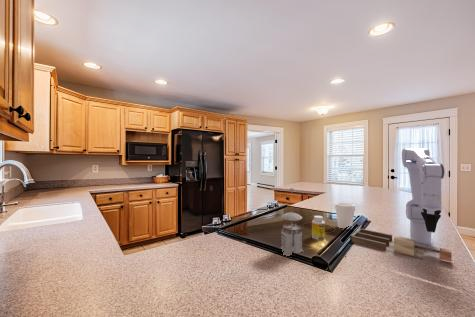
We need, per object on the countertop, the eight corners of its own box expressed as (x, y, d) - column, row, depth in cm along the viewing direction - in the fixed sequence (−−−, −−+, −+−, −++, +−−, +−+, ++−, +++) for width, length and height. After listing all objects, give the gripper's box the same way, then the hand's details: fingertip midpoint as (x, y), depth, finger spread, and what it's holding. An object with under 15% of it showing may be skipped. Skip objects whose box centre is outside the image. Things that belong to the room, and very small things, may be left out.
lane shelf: (359, 234, 104) (359, 228, 104) (425, 249, 88) (425, 241, 88) (350, 243, 93) (350, 235, 93) (422, 261, 77) (422, 252, 77)
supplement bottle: (319, 242, 94) (319, 218, 94) (309, 238, 99) (309, 216, 99) (327, 239, 97) (327, 217, 97) (316, 235, 102) (316, 214, 102)
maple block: (395, 247, 87) (395, 235, 87) (451, 260, 76) (451, 246, 76) (393, 251, 84) (394, 238, 84) (451, 265, 73) (451, 250, 73)
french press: (301, 247, 88) (302, 186, 88) (308, 260, 77) (308, 190, 77) (277, 246, 89) (278, 186, 89) (280, 259, 78) (281, 190, 78)
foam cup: (331, 227, 115) (331, 203, 115) (343, 225, 119) (343, 202, 119) (346, 233, 106) (346, 206, 106) (359, 230, 110) (359, 205, 110)
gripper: (419, 191, 91) (419, 223, 91) (416, 195, 81) (416, 231, 81) (442, 193, 87) (442, 227, 86) (442, 197, 76) (442, 236, 76)
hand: (431, 229), depth 83 cm, fingers open, 7 cm apart
